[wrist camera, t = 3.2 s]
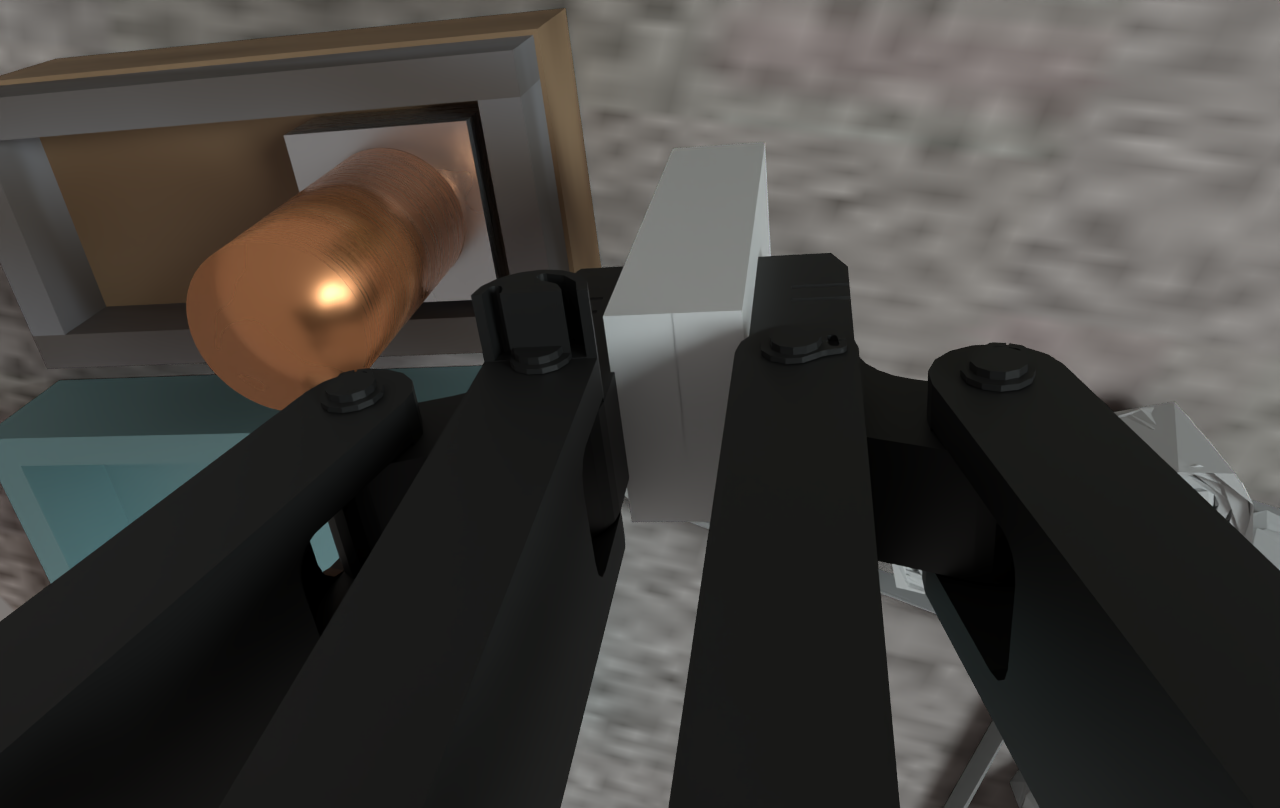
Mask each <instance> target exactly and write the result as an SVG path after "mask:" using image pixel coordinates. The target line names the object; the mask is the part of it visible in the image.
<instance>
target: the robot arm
mask: <svg viewBox="0 0 1280 808" xmlns="http://www.w3.org/2000/svg"><path fill="white" fill-rule="evenodd" d="M471 299H472V304H473V309H474V314H475V318H476V323H477V328H478V333H479V338H480V342H481V347H482V352H483V357H484V364H483V365H482V367H481V369H480V370H479V372H478V374H477V375H476V377H475V379H474V380H473V382H472V384H471V385H470V387H469V389H468V390H467V392H466V393H462V394H458V395H454V396H450V397H444V398H439V399H434V400H429V401H424V402H418V401H417V397H416V393H415V389H414V385H413V381H412V380H411V379H410V378H409V377H408V376H406V375H405V374H404V373H401V372H397V371H392V370H388V369H381V370H372V369H370V368H364V369H357V371H356V372H355V371H354V370H351V371H347V372H343V373H341V374H339V375H338V377H335V378H332V379H329V380H326V381H324V382H322V383H320V384H318V385H317V386H315V387H313V388H311V389H310V390H308V391H306V392H305V393H304V394H302V395H301V396H300V397H298V398H297V399H296V400H294V401H293V402H292V403H290V404H289V405H288V406H286V407H285V408H284V409H282V410H281V411H280V412H278V413H277V414H276V415H274V416H273V417H272V418H270V419H269V420H268V421H266V422H265V423H264V424H262V425H261V426H260V427H258V428H257V429H256V430H254V431H253V432H252V433H250V434H249V435H248V436H246V437H245V438H244V439H242V440H241V441H240V442H238V443H237V444H236V445H234V446H233V447H232V448H230V449H229V450H228V451H226V452H225V453H224V454H222V455H221V456H220V457H218V458H217V459H216V460H215V461H213V462H212V463H211V464H209V465H208V466H207V467H205V468H204V469H203V470H201V471H200V472H199V473H197V474H196V475H195V476H193V477H192V478H191V479H189V480H188V481H187V482H185V483H184V484H183V485H181V486H180V487H179V488H177V489H176V490H175V491H173V492H172V493H171V494H169V495H168V496H167V497H165V498H164V499H163V500H161V501H160V502H159V503H157V504H156V505H155V506H153V507H152V508H151V509H149V510H148V511H147V512H145V513H144V514H143V515H141V516H140V517H139V518H137V519H136V520H135V521H133V522H132V523H131V524H129V525H128V526H127V527H125V528H124V529H123V530H121V531H120V532H119V533H117V534H116V535H115V536H113V537H112V538H111V539H109V540H108V541H107V542H105V543H104V544H103V545H101V546H100V547H99V548H98V549H96V550H95V551H94V552H92V553H91V554H90V555H88V556H87V557H86V558H84V559H83V560H82V561H80V562H79V563H78V564H76V565H75V566H74V567H72V568H71V569H70V570H68V571H67V572H66V573H64V574H63V575H62V576H60V577H59V578H58V579H56V580H55V581H54V582H52V583H51V584H50V585H48V586H47V587H46V588H44V589H43V590H42V591H40V592H39V593H38V594H36V595H35V596H34V597H32V598H31V599H30V600H28V601H27V602H26V603H24V604H23V605H22V606H20V607H19V608H18V609H16V610H15V611H14V612H12V613H11V614H10V615H8V616H7V617H6V618H4V619H3V620H2V621H1V622H0V808H560V807H561V803H562V799H563V795H564V791H565V787H566V783H567V779H568V775H569V771H570V767H571V763H572V759H573V755H574V751H575V747H576V743H577V739H578V735H579V731H580V727H581V723H582V719H583V715H584V711H585V707H586V703H587V699H588V695H589V691H590V687H591V683H592V679H593V675H594V671H595V667H596V663H597V659H598V655H599V651H600V647H601V643H602V639H603V635H604V631H605V626H606V622H607V618H608V614H609V610H610V606H611V602H612V598H613V594H614V590H615V586H616V582H617V578H618V574H619V570H620V566H621V562H622V558H623V554H624V550H625V536H624V528H623V521H622V515H621V507H622V503H623V500H624V496H625V492H626V489H627V491H628V498H629V505H630V512H631V519H632V522H710V526H709V533H708V540H707V547H706V554H705V561H704V567H703V574H702V581H701V588H700V595H699V602H698V609H697V616H696V622H695V629H694V636H693V643H692V650H691V657H690V664H689V671H688V678H687V684H686V691H685V698H684V705H683V712H682V719H681V726H680V733H679V739H678V746H677V753H676V760H675V767H674V774H673V781H672V788H671V794H670V801H669V808H900V803H899V792H898V781H897V770H896V758H895V747H894V736H893V725H892V714H891V703H890V692H889V681H888V669H887V658H886V647H885V636H884V625H883V614H882V603H881V592H880V580H879V569H878V561H881V562H886V563H891V564H895V565H900V566H904V567H909V568H913V569H918V570H922V581H923V585H924V590H925V594H926V596H927V598H928V599H929V601H930V603H931V605H932V607H933V609H934V611H935V613H936V614H937V616H938V618H939V620H940V622H941V624H942V626H943V628H944V630H945V631H946V633H947V635H948V637H949V639H950V641H951V643H952V645H953V646H954V648H955V650H956V652H957V654H958V656H959V658H960V660H961V661H962V663H963V665H964V667H965V669H966V671H967V673H968V675H969V676H970V678H971V680H972V682H973V684H974V686H975V688H976V690H977V691H978V693H979V695H980V697H981V699H982V701H983V703H984V705H985V706H986V708H987V710H988V712H989V714H990V716H991V718H992V720H993V721H994V723H995V725H996V727H997V729H998V731H999V733H1000V735H1001V736H1002V738H1003V740H1004V742H1005V744H1006V746H1007V748H1008V750H1009V751H1010V753H1011V755H1012V757H1013V759H1014V761H1015V763H1016V765H1017V767H1018V768H1019V770H1020V772H1021V774H1022V776H1023V778H1024V780H1025V782H1026V783H1027V785H1028V787H1029V789H1030V791H1031V793H1032V795H1033V797H1034V798H1035V800H1036V802H1037V804H1038V806H1039V808H1280V570H1279V569H1278V568H1277V567H1276V566H1275V565H1274V564H1273V563H1271V562H1270V561H1269V560H1268V559H1267V558H1266V557H1265V556H1264V555H1263V554H1262V553H1261V552H1260V551H1259V550H1258V549H1257V548H1256V547H1255V546H1254V545H1253V544H1252V543H1251V542H1249V541H1248V540H1247V539H1246V538H1245V537H1244V536H1243V535H1242V534H1241V533H1240V532H1239V531H1238V530H1237V529H1236V528H1235V527H1234V526H1233V525H1232V524H1231V523H1230V522H1228V521H1227V520H1226V519H1225V518H1224V517H1223V516H1222V515H1221V514H1220V513H1219V512H1218V511H1217V510H1216V509H1215V508H1214V507H1213V506H1212V505H1211V504H1210V503H1209V502H1208V501H1206V500H1205V499H1204V498H1203V497H1202V496H1201V495H1200V494H1199V493H1198V492H1197V491H1196V490H1195V489H1194V488H1193V487H1192V486H1191V485H1190V484H1189V483H1188V482H1187V481H1185V480H1184V479H1183V478H1182V477H1181V476H1180V475H1179V474H1178V473H1177V472H1176V471H1175V470H1174V469H1173V468H1172V467H1171V466H1170V465H1169V464H1168V463H1167V462H1166V461H1165V460H1163V459H1162V458H1161V457H1160V456H1159V455H1158V454H1157V453H1156V452H1155V451H1154V450H1153V449H1152V448H1151V447H1150V446H1149V445H1148V444H1147V443H1146V442H1145V441H1144V440H1142V439H1141V438H1140V437H1139V436H1138V435H1137V434H1136V433H1135V432H1134V431H1133V430H1132V429H1131V428H1130V427H1129V426H1128V425H1127V424H1126V423H1125V422H1124V421H1123V420H1122V419H1120V418H1119V417H1118V416H1117V415H1116V414H1115V413H1114V412H1113V411H1112V410H1111V409H1110V408H1109V407H1108V406H1107V405H1106V404H1105V403H1104V402H1103V401H1102V400H1101V399H1099V398H1098V397H1097V396H1096V395H1095V394H1094V393H1093V392H1092V391H1091V390H1090V389H1089V388H1088V387H1087V386H1086V385H1085V384H1084V383H1083V382H1082V381H1081V380H1080V379H1079V378H1077V377H1076V376H1075V375H1074V374H1073V373H1072V372H1071V371H1070V370H1069V369H1068V368H1067V367H1066V366H1065V365H1064V364H1062V363H1061V362H1059V361H1057V360H1056V359H1054V358H1053V357H1051V356H1050V355H1048V354H1045V353H1042V352H1039V351H1035V350H1032V349H1029V348H1026V347H1024V346H1022V345H1017V344H1010V343H1009V345H1006V343H989V344H987V345H972V346H968V347H964V348H960V349H956V350H952V351H949V352H948V353H946V354H944V355H942V356H941V357H939V358H937V359H935V360H934V362H933V364H932V366H931V367H930V369H929V371H928V381H923V380H915V379H909V378H904V377H899V376H894V375H890V374H888V373H885V372H882V371H879V370H877V369H875V368H873V367H871V366H870V365H868V364H866V363H865V362H864V361H863V360H862V359H861V358H860V357H859V348H858V346H857V344H856V342H855V340H854V331H853V320H852V309H851V299H850V287H849V276H848V266H846V265H845V264H844V263H843V262H841V261H840V260H839V259H838V258H837V257H835V256H834V255H833V254H832V253H822V254H802V255H783V256H771V249H770V229H769V210H768V190H767V171H766V152H765V142H755V143H742V144H728V145H714V146H700V147H686V148H673V150H672V152H671V154H670V157H669V159H668V162H667V164H666V166H665V169H664V171H663V174H662V176H661V178H660V181H659V183H658V186H657V188H656V190H655V193H654V195H653V198H652V200H651V202H650V205H649V207H648V210H647V212H646V214H645V217H644V219H643V222H642V224H641V226H640V229H639V231H638V234H637V236H636V238H635V241H634V243H633V246H632V248H631V250H630V253H629V255H628V257H627V260H626V262H625V265H624V267H605V268H586V269H580V270H578V271H577V272H576V273H572V272H568V271H564V270H534V271H526V272H519V273H515V274H512V275H508V276H504V277H501V278H498V279H495V280H493V281H491V282H489V283H487V284H485V285H483V286H481V287H480V288H479V289H477V290H476V291H475V292H474V293H473V294H472V295H471ZM327 522H328V524H329V527H330V530H331V533H332V537H333V540H334V543H335V546H336V549H337V552H338V555H339V559H338V560H337V561H336V562H335V563H334V564H333V565H332V566H331V567H330V568H328V569H326V570H325V571H323V572H322V570H321V569H320V567H319V566H318V563H317V560H316V557H315V554H314V551H313V548H312V545H311V542H310V540H311V539H312V537H313V536H314V535H315V533H316V532H317V531H318V530H320V529H321V528H322V527H323V526H324V525H325V524H326V523H327Z"/></svg>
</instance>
